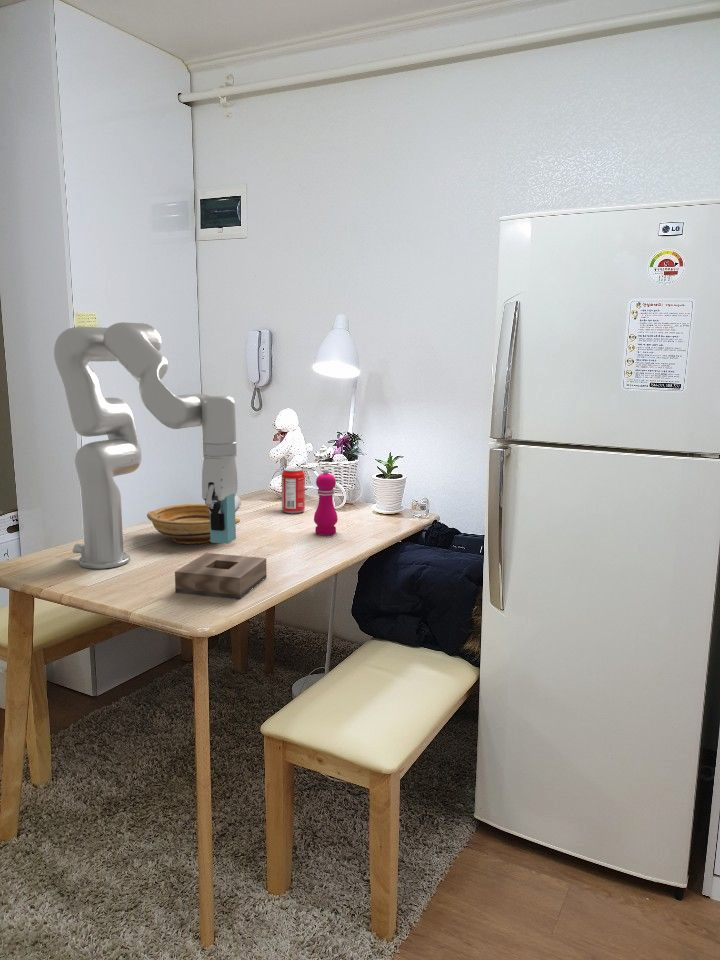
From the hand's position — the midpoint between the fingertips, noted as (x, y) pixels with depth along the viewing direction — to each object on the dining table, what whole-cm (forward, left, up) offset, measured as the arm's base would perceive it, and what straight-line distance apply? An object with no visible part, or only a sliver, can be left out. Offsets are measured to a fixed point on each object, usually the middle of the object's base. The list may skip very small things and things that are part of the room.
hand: (222, 526), depth 170 cm
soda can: (-10, +78, -15) cm, 80 cm away
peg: (0, 0, -3) cm, 3 cm away
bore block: (0, 0, -14) cm, 14 cm away
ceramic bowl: (-26, +36, -15) cm, 47 cm away
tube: (-30, +68, -15) cm, 76 cm away
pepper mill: (+9, +54, -14) cm, 57 cm away
